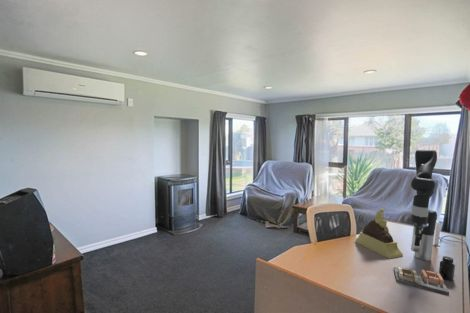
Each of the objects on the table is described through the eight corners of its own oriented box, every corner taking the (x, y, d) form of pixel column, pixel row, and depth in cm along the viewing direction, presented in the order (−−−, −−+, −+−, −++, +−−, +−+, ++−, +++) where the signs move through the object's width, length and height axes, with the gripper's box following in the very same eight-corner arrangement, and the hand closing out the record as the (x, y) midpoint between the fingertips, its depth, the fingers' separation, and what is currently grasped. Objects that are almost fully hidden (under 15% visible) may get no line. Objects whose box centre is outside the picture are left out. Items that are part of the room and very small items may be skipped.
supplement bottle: (446, 275, 156) (449, 255, 155) (456, 281, 149) (459, 261, 148) (435, 274, 155) (437, 255, 154) (444, 281, 149) (447, 260, 148)
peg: (410, 248, 149) (412, 231, 148) (419, 250, 147) (421, 232, 146) (411, 251, 145) (413, 233, 145) (420, 252, 144) (422, 235, 143)
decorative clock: (402, 256, 178) (407, 213, 176) (389, 258, 174) (394, 214, 171) (367, 240, 204) (371, 202, 202) (355, 241, 200) (359, 203, 197)
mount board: (393, 269, 159) (394, 262, 159) (440, 280, 149) (441, 272, 149) (396, 281, 145) (397, 274, 144) (448, 295, 135) (450, 286, 134)
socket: (421, 274, 152) (421, 269, 151) (438, 278, 148) (439, 273, 148) (424, 281, 144) (424, 276, 144) (443, 285, 140) (443, 280, 140)
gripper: (409, 209, 152) (406, 238, 154) (413, 216, 140) (410, 247, 141) (425, 212, 149) (421, 241, 151) (430, 219, 136) (426, 250, 138)
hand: (416, 244), depth 146 cm, fingers closed on peg, 4 cm apart
